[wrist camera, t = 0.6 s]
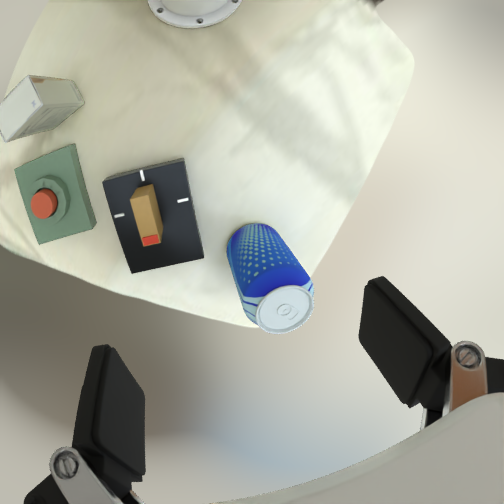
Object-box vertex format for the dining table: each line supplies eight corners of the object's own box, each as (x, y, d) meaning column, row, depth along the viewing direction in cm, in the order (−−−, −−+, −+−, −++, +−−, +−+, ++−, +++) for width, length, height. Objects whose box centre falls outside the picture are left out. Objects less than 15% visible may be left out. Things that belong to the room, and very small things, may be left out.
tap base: (106, 176, 34) (101, 181, 32) (183, 157, 35) (183, 160, 33) (133, 265, 41) (131, 274, 39) (203, 250, 42) (204, 258, 40)
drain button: (33, 193, 29) (27, 196, 27) (53, 185, 29) (47, 188, 28) (40, 217, 30) (35, 222, 29) (60, 210, 31) (55, 215, 29)
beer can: (231, 274, 45) (253, 347, 32) (220, 227, 41) (240, 291, 27) (281, 262, 46) (321, 327, 33) (275, 214, 42) (321, 269, 28)
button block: (21, 166, 29) (7, 172, 26) (75, 143, 31) (63, 147, 27) (44, 238, 35) (34, 250, 32) (96, 223, 36) (88, 234, 33)
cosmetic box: (73, 79, 26) (30, 70, 16) (86, 103, 29) (45, 102, 18) (39, 108, 27) (-10, 113, 16) (51, 131, 29) (4, 144, 18)
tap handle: (136, 187, 33) (129, 200, 29) (152, 183, 34) (147, 195, 29) (148, 230, 36) (143, 247, 32) (163, 226, 37) (160, 243, 32)
